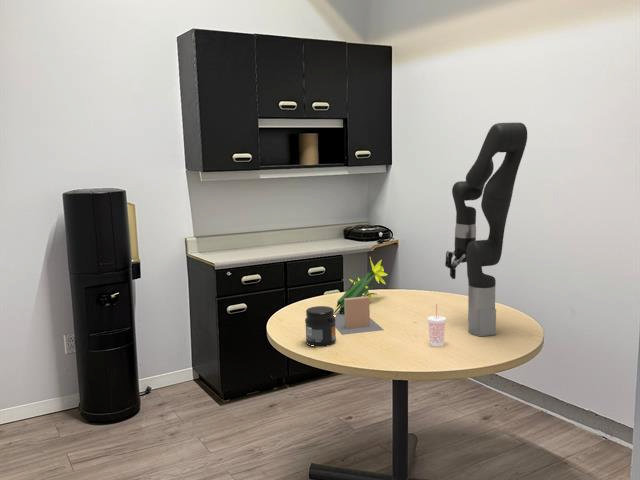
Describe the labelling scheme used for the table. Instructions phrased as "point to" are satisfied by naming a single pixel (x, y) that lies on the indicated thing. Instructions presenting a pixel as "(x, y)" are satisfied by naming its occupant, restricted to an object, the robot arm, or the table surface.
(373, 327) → the felt mat
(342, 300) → the daffodil flowers
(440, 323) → the beverage cup
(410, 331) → the table surface
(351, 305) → the tile
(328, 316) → the supplement container
